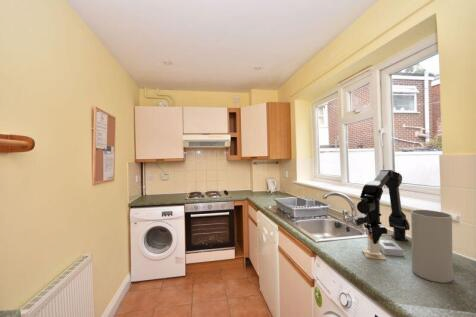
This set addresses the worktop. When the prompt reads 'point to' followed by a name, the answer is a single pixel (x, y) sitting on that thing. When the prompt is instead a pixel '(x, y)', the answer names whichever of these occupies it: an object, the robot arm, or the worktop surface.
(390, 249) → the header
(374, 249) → the plug
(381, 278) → the worktop surface
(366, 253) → the mat
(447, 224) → the cylinder vase
